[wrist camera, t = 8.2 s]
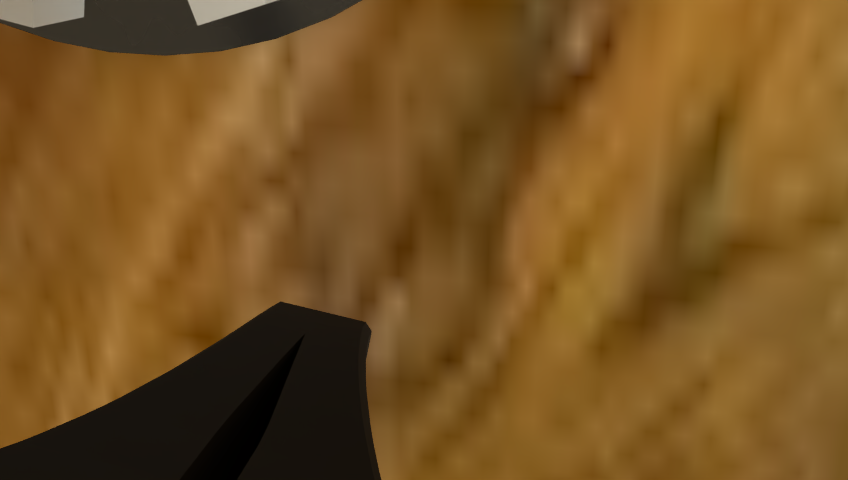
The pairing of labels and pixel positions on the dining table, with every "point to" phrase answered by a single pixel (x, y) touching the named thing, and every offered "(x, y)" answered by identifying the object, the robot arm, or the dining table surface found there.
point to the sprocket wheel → (51, 3)
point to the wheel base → (181, 25)
